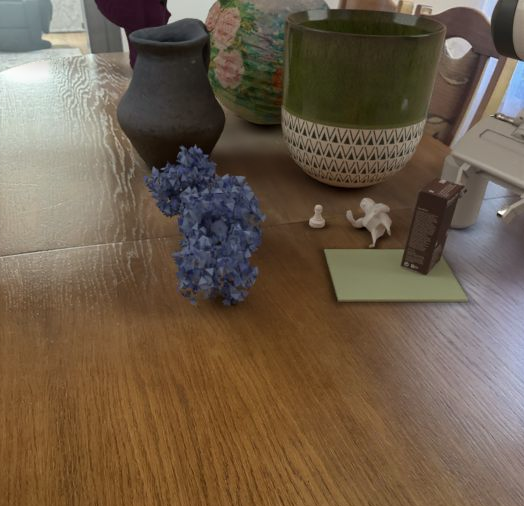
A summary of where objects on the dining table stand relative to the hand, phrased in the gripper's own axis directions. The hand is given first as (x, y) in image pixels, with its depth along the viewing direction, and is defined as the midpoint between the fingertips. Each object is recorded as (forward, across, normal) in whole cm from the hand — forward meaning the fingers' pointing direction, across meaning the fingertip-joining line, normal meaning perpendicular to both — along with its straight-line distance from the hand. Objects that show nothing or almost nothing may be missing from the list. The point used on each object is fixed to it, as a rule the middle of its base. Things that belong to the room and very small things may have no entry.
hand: (476, 206), depth 81 cm
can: (0, -10, +12) cm, 16 cm away
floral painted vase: (+3, -71, +8) cm, 71 cm away
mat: (+15, 0, -4) cm, 16 cm away
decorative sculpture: (+32, -15, -20) cm, 40 cm away
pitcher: (+24, -53, -13) cm, 60 cm away
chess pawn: (+16, -19, -4) cm, 25 cm away
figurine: (+12, -14, 0) cm, 18 cm away
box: (+11, -1, 0) cm, 11 cm away
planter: (+5, -34, +7) cm, 35 cm away
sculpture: (+12, -128, -2) cm, 129 cm away
